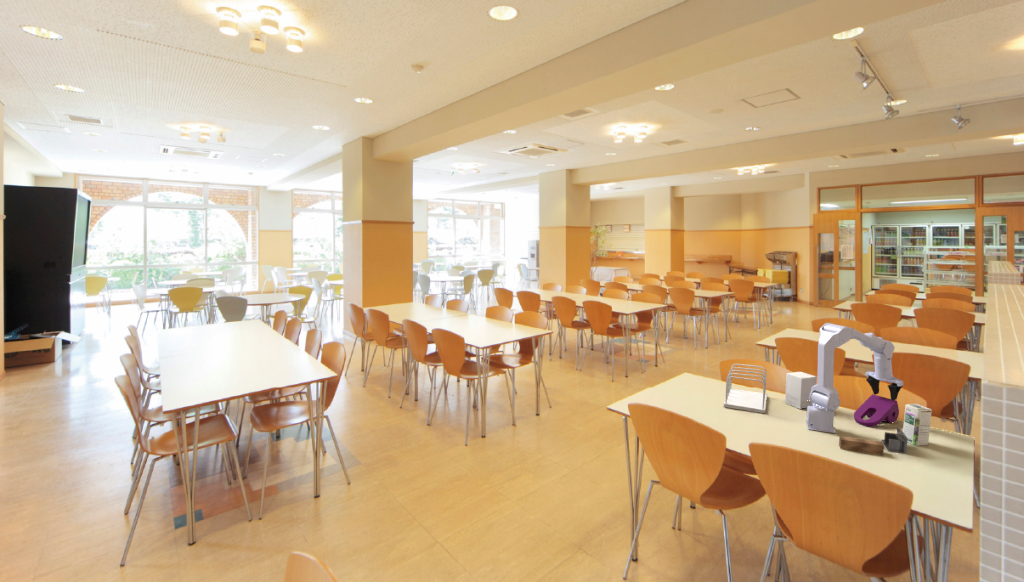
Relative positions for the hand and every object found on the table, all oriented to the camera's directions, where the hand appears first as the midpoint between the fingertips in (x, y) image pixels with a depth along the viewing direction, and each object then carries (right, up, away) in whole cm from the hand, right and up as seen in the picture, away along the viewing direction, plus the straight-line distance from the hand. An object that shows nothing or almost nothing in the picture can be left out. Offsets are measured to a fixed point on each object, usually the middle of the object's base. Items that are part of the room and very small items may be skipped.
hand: (885, 396), depth 201 cm
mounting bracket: (-5, -11, +1) cm, 12 cm away
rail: (-29, -15, -25) cm, 41 cm away
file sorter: (-47, -9, +26) cm, 54 cm away
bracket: (-16, -14, -23) cm, 31 cm away
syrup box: (-4, -13, -20) cm, 24 cm away
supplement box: (-24, -9, +20) cm, 33 cm away
